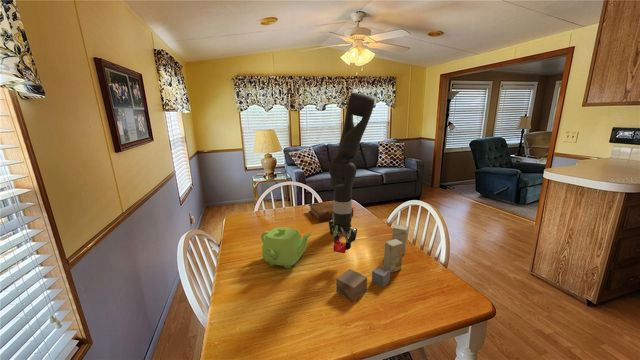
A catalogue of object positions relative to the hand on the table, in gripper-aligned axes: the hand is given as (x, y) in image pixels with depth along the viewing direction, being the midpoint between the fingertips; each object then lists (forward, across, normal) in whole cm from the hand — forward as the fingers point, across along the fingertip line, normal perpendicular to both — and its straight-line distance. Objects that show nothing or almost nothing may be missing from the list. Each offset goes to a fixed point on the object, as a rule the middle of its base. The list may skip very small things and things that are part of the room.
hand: (342, 246), depth 115 cm
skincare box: (+9, +18, +12) cm, 23 cm away
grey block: (+8, +19, +1) cm, 21 cm away
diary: (+10, -43, +39) cm, 59 cm away
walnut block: (+8, +14, -12) cm, 20 cm away
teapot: (+9, -18, -17) cm, 27 cm away
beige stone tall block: (+9, +12, +26) cm, 31 cm away
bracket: (+1, 0, 0) cm, 1 cm away
